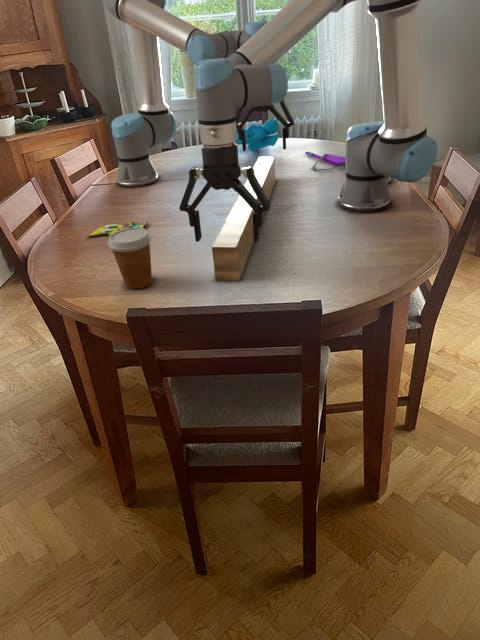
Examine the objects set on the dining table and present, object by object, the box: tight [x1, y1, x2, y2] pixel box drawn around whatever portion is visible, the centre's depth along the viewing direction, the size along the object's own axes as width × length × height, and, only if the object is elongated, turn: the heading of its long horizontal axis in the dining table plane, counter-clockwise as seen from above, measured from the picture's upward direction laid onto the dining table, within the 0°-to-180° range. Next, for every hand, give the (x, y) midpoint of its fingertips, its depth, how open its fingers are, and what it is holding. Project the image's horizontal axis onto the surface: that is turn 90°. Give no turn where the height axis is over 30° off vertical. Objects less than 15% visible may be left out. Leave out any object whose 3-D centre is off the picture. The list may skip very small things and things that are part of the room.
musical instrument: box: [304, 151, 346, 171], centre depth 185 cm, size 24×2×20 cm
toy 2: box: [235, 118, 280, 153], centre depth 207 cm, size 17×11×30 cm
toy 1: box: [88, 221, 148, 238], centre depth 142 cm, size 10×1×15 cm
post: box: [211, 155, 277, 282], centre depth 139 cm, size 75×6×8 cm, turn 170°
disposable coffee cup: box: [107, 227, 153, 289], centre depth 110 cm, size 10×10×12 cm
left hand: (264, 149), depth 161 cm, fingers open, 13 cm apart
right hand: (227, 239), depth 111 cm, fingers open, 13 cm apart
